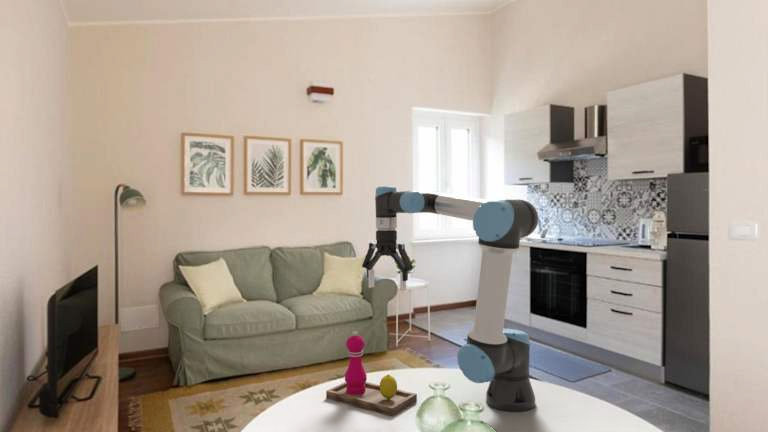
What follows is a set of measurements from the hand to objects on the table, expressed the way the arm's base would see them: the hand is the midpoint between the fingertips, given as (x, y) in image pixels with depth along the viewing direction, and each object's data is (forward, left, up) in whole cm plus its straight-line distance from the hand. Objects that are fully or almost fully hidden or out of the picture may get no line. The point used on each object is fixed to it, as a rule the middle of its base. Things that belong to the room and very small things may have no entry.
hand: (387, 288), depth 183 cm
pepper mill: (0, +18, -32) cm, 37 cm away
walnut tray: (-6, +19, -33) cm, 38 cm away
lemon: (-13, +18, -32) cm, 39 cm away
